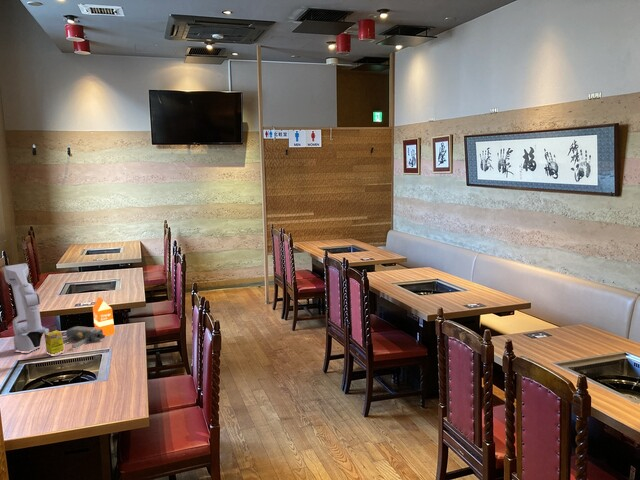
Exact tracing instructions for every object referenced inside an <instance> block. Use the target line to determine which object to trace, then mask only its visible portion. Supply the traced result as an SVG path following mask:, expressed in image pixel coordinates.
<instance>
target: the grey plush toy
mask: <svg viewBox="0 0 640 480" xmlns="http://www.w3.org/2000/svg"><path fill="white" fill-rule="evenodd" d="M65 333H66V338H63V344H65V343H67V342H69V343H71V342H74V341H78V340H79V341H78V342H75V343H73V344H72V345H71V349H72V348H76V347H79V346H81V345H83V344H85V343H87V344H88V343H97V342H99V341H101V340H103V339H105V337H106V336H105V335H104V334H103V330H102V329H96V328H95V327H91V326H90V327H88V326H79V325H77V326H76V325H75V326H72V327H70V328H68V329H66V332H65ZM70 341H71V342H70ZM67 344H68V343H67ZM65 345H66V344H65ZM85 345H86V344H85ZM83 346H84V345H83ZM81 347H82V346H81ZM79 348H80V347H79Z"/></svg>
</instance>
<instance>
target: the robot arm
mask: <svg viewBox="0 0 640 480" xmlns="http://www.w3.org/2000/svg"><path fill="white" fill-rule="evenodd" d="M29 270H30V269H29V265H28V263H26V262H23V263H18V264H12V265H4V266H3V276H4V280H5V281H6V283H7V284H10V286H11V288H12V289H11V290H12V294H13V298H14V303H15V307H16V308H15V309H16V314H17V316H16V317H14V318H13V320H12V329H13V330H12V331H13V333H14V336H13V346H14V351H15V350H19V351H30V350H34V349H35V348H37V347H41V342H42V341H41V340H42V336H44V335H45V334H47V333H49V332H50V329H49V328H48V327H45V326H42V322H41V321H42V320H41V314H40V313H41V312H40V307H39V306H40V305H41V300H40V295H39V294H38V292H36V291H35V289H34V287H33V285H32V284H31V283H29V282H28V277H29V273H30V271H29Z"/></svg>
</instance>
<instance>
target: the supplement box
mask: <svg viewBox="0 0 640 480" xmlns="http://www.w3.org/2000/svg"><path fill="white" fill-rule="evenodd" d="M63 340H64V338H63V333H62V332H61V331H59V330H57V329H56V330H54V331H49V333H47V334H44V342H45V348H46V349H45V350H46V353H47V352H48V353H50V354H55V353H58V352H60V351H63V350H64V351H65V349H64V347H65V346H64V345H63Z"/></svg>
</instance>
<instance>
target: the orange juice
mask: <svg viewBox="0 0 640 480" xmlns="http://www.w3.org/2000/svg"><path fill="white" fill-rule="evenodd" d="M92 314H93V325H94V328H96V329H102V330H103V334H104V335H105V337H108V336H112V335H115V326H114V325H115V323H114V315H113V308H112V307H111V306H110V305H109V304H108V303H107V302H106V301H105V300H104V299H103V298H101V297H100V296H98V298H97V299H96V301H95V303H94V304H93V306H92Z"/></svg>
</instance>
